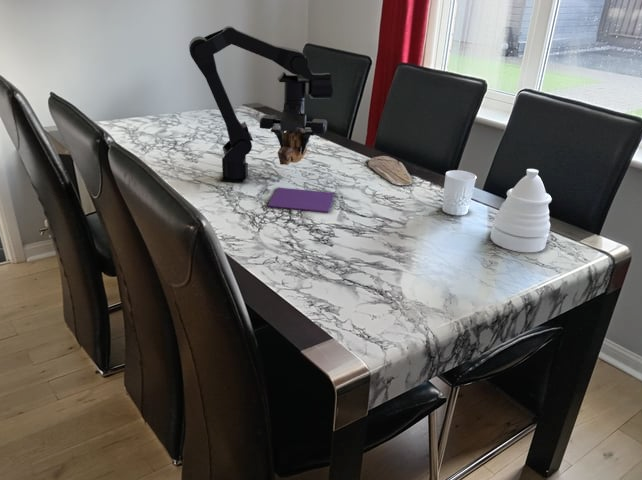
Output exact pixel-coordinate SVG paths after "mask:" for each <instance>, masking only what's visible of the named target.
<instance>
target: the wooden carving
mask: <svg viewBox="0 0 642 480" xmlns="http://www.w3.org/2000/svg"><path fill="white" fill-rule="evenodd" d="M304 132H305V128H298V131H297V132H292V131H284V133H283V139H282V140H283V144H284V146H283V147H281V146H280V148H279V149H278V151H277V156H278V160H279V165H281V166H283V165H285V166H289V164H290V163H294V164H297V163H299V162H301V161H302V159H304V157H305V155H306V153H307V151H308V147H306V148H305V151H304V153H303V155H301V150H302V143H303V133H304ZM309 142H310V139H309V140H308V142H307V144H308V143H309Z"/></svg>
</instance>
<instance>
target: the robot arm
mask: <svg viewBox="0 0 642 480" xmlns="http://www.w3.org/2000/svg"><path fill="white" fill-rule="evenodd" d="M231 45H233V46H235V47H237V48H240V49H243V50H245V51H247V52H249V53H253V54H255V55H258V56H260V57H262V58H265V59H267V60H270V61H272V62H274V63H275V64H277V65H278V66H280V67H281V68H283V69H284V70H286V71H288V72H289V73H290V74H287V73H286V72H285V71H282V72H281V74H280V75H279V76H278V77H277V78H276V80H277V81H278V83H284V85H283V88H284V89H283V90H284V91H283V92H284V93H283V99H284V100H283V109H282V112H281V115H280V118H278V115H274V114H264V115H263V116H262V117H261V118H260V119H259V129H262V130H270V132H271V133H274V134H275V136H276V138H277V141H278V142H279V143H278V144H279V146H280V148H281V147H283V146H284V144H283V140H282V139H283V133H285V132H286V131H292V132H297V131H298V128H303V129H304V131H305V132H304V133H303V143H302V150H301V155H303V153H304V151H305V148H307V146H308V143H309V142H308V140H309V141H310V139H311V137H313V136H315V135H316V134H320V135H324V134H325V133H326V132H327V130H328V121H327V120H326V119H324V118H323V119H322V118H313V119H312V121H307V114H306V113H305V102H306V100H305V99H306V96H309V98H310V99H311V100H331V99H332V97H333V91H334V87H333V81H332V74H331V73H330V72H324V73H313V71H312V70H311V69H310V68H309V66H308V65H309V63H308V58H307V56H306V55H305V54H304V53H303V52H302V51H300V50H298V49H295V48H291V47H286V46H280V45H276V44H272V43H271V42H268V41H265V40H263V39H260V38H259V37H255V36H253V35H251V34H248V33H246V32H243V31H241V30H239V29H237V28H235V27H234V26H231V25H227V26H225V27H223V28H222V29H220V30H217V31H215V32H212V33H210V34H208V35H205V36H204V37H203V36H200V35H199V36H195V37H193V38H192V39H191V40H190V42H189V45H188V51H189V54H190V57H191V58H192V60H193V61H194V63H195V65H196V67H197V68H198V69H199V71H200V72H201V73H202V75H203V77H204V78H205V80H206V83H207V85H208V87H209V89H210V92H211V94H212V96H213V98H214V101H215V103H216V106H217V107H218V110H219V112H220V115H221V117H222V119H223V122H224V124H225V127H226V131H227V135H228V140H227V142H226V143H225V144H224V145H223V146H222V151H223V157H221V168H222V169H221V171H222V172H221V173H222V177H221V178H220V182H229V183H230V182H231V183H238V184H239V183H240V184H242V183H244V182H245V180H246V179H247V178H248V177H249V163H248V162H247V157H246V156H247V155H248V154H250V152H251V151H252V148H253V143H252V141H254V139H253V137H252V134H251V133H250V131H249V127H248V125H247V122H246V121H243V122H240V120H239V119H238V117H237V115H236V112H235V110H234V108H233V105H232V103H231V101H230V98H229V96H228V94H227V91H226V89H225V87H224V84H223V81H222V79H221V77H220V74H219V73H218V69H217V64H216V59H215V54H217V53H219V52H221V51H223V50H224V49H225V48H227V47H229V46H231ZM299 75H300V76H302V77H303V78H299ZM307 142H308V143H307Z"/></svg>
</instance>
